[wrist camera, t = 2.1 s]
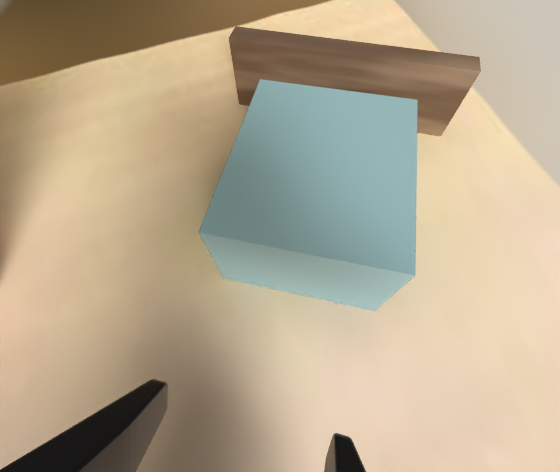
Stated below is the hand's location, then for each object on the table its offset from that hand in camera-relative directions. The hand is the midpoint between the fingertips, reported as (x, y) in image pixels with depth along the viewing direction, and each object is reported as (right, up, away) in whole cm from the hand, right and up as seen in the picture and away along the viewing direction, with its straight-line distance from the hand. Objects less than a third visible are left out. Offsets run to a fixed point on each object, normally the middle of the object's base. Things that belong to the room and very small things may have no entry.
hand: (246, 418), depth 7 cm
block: (+4, +6, +19) cm, 20 cm away
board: (+7, +18, +25) cm, 32 cm away
